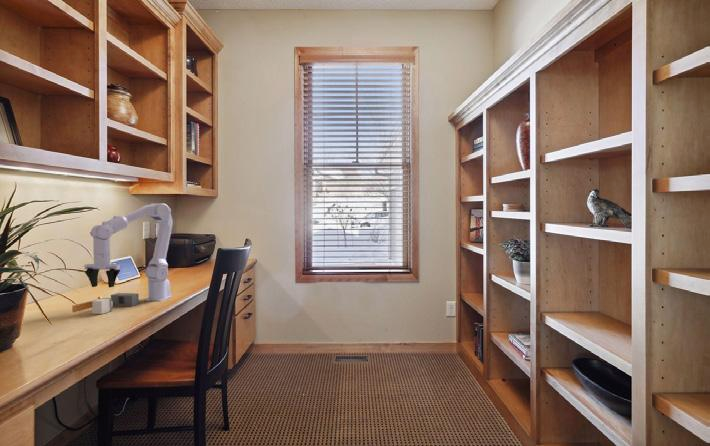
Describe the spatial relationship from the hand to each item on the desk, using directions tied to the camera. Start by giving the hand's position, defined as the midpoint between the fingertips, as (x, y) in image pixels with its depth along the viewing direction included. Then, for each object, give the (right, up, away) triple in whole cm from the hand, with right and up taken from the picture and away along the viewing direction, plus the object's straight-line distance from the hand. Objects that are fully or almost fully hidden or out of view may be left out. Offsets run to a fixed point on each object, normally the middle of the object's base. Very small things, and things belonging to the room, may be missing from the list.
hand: (102, 286), depth 163 cm
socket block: (+4, -9, +4) cm, 11 cm away
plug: (+3, -9, -4) cm, 11 cm away
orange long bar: (-3, -8, -5) cm, 10 cm away
